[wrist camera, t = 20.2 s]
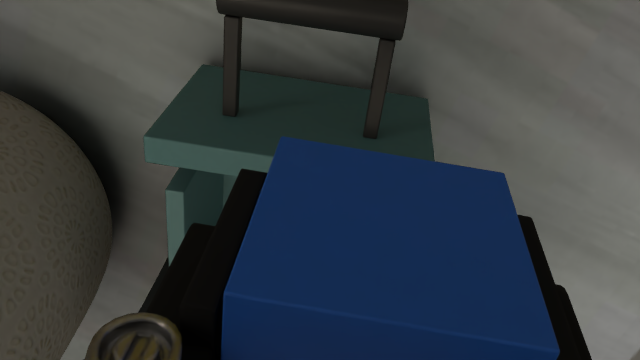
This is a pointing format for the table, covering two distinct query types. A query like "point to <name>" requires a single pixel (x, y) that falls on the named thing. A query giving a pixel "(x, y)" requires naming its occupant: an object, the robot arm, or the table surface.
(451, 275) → the blue cube box
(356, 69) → the table surface
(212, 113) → the teal drawer
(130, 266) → the table surface
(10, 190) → the planter
